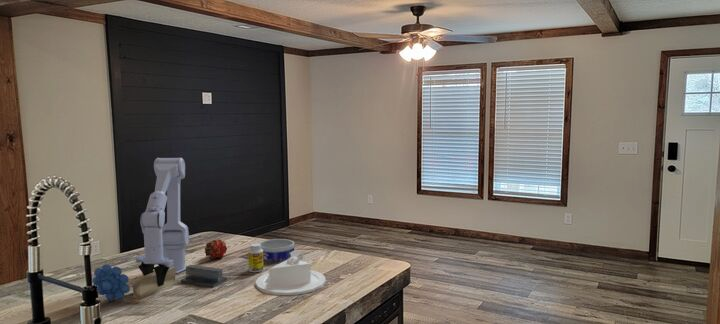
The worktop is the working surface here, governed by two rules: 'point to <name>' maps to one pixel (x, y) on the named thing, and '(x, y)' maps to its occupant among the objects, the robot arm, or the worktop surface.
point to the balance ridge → (203, 276)
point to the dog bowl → (277, 250)
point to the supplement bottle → (255, 258)
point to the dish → (291, 277)
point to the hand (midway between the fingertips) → (155, 284)
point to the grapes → (111, 282)
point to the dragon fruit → (215, 249)
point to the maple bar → (151, 284)
